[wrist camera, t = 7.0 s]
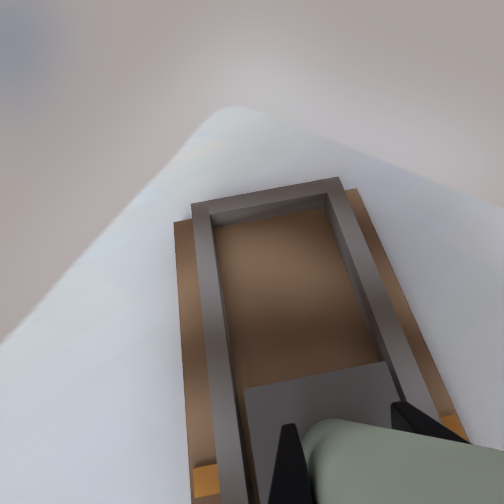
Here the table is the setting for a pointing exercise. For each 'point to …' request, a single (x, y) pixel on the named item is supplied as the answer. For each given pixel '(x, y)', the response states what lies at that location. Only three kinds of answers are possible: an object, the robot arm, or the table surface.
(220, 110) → the table surface
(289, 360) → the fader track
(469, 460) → the fader knob
